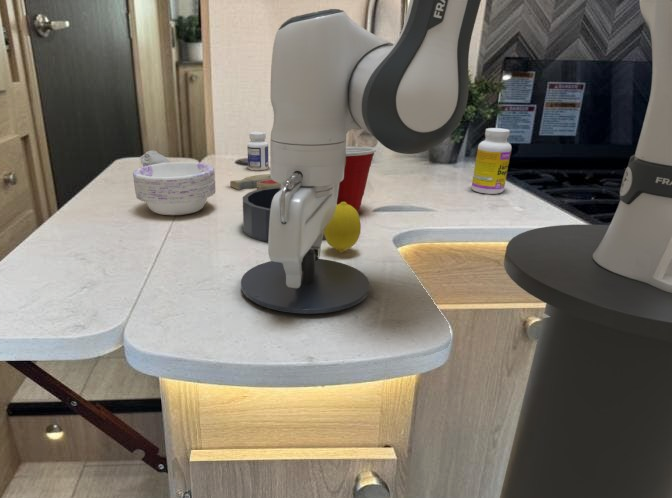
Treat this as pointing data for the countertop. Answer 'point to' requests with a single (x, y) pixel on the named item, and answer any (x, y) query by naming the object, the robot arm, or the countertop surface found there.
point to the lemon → (343, 228)
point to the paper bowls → (175, 186)
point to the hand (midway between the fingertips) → (304, 271)
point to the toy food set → (255, 182)
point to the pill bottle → (257, 151)
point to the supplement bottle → (492, 162)
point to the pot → (258, 212)
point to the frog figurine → (152, 158)
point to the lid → (306, 286)
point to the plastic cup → (355, 175)
